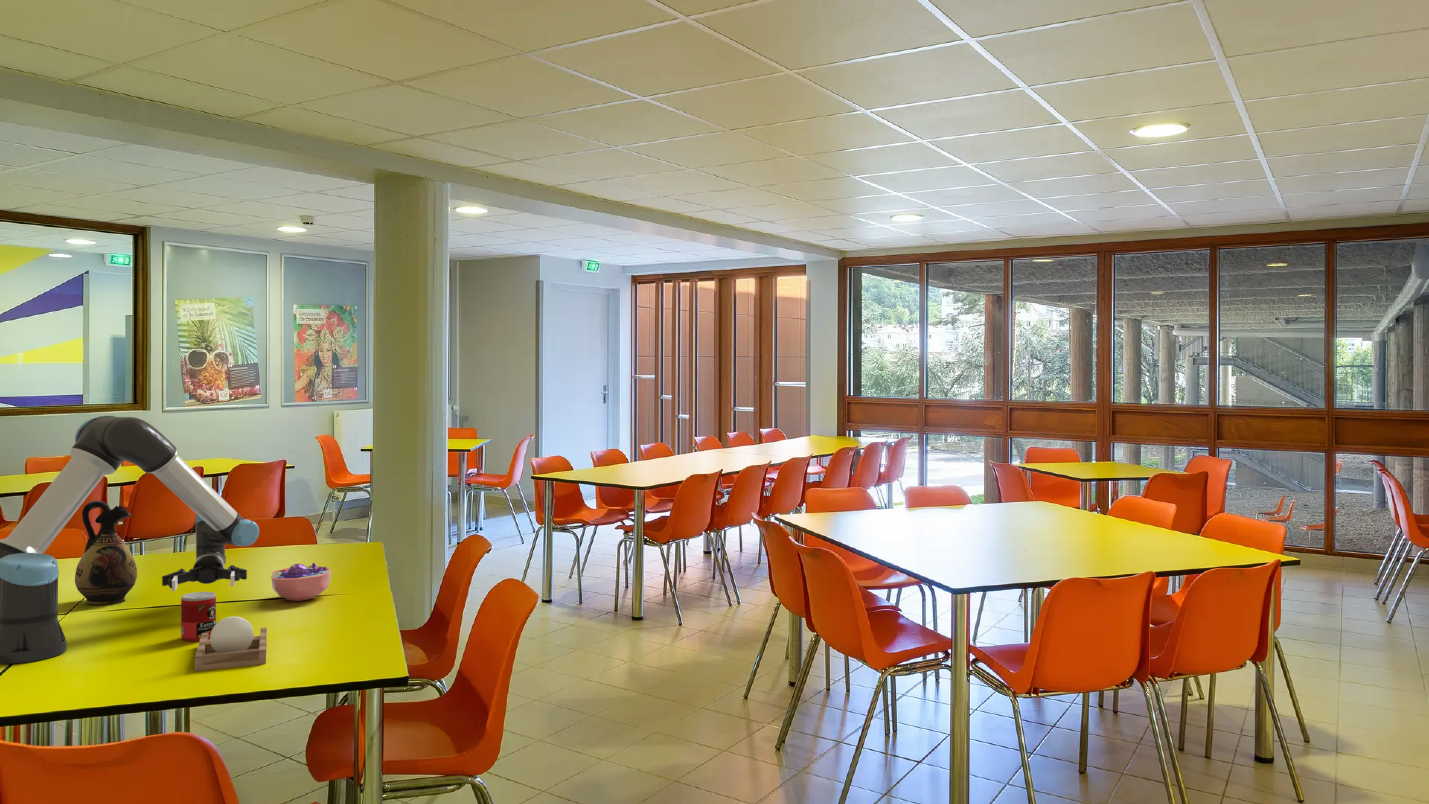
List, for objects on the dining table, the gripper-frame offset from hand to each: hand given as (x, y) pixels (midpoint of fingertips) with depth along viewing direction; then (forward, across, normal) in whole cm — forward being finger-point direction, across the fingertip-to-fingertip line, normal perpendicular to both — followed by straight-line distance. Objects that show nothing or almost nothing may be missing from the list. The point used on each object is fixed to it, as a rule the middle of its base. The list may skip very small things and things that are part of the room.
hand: (203, 583), depth 244 cm
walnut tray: (+30, -8, -12) cm, 33 cm away
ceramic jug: (-45, +29, -12) cm, 55 cm away
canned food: (+10, 0, -12) cm, 16 cm away
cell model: (-27, -24, -13) cm, 39 cm away
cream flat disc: (+35, -8, -11) cm, 37 cm away
